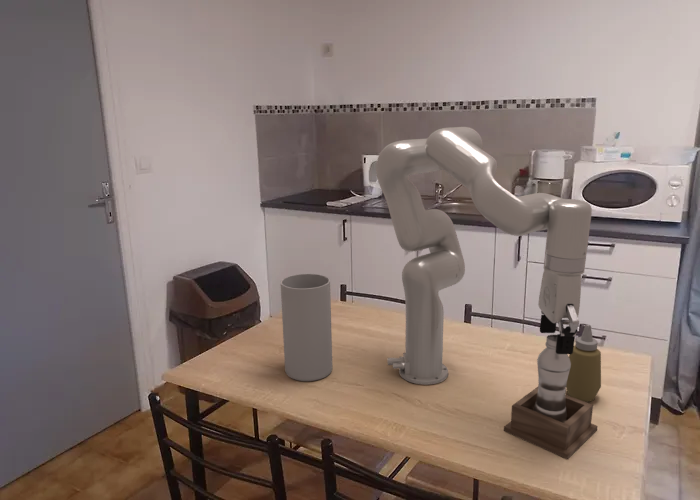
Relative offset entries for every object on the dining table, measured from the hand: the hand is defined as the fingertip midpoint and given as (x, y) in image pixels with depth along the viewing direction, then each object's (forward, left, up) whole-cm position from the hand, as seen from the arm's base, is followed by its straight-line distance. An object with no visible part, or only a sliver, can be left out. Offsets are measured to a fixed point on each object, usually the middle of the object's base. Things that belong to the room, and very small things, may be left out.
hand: (555, 342), depth 112 cm
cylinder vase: (-54, +28, -20) cm, 64 cm away
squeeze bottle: (+12, +14, -20) cm, 27 cm away
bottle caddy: (0, 0, -20) cm, 20 cm away
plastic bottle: (0, 0, -19) cm, 19 cm away
